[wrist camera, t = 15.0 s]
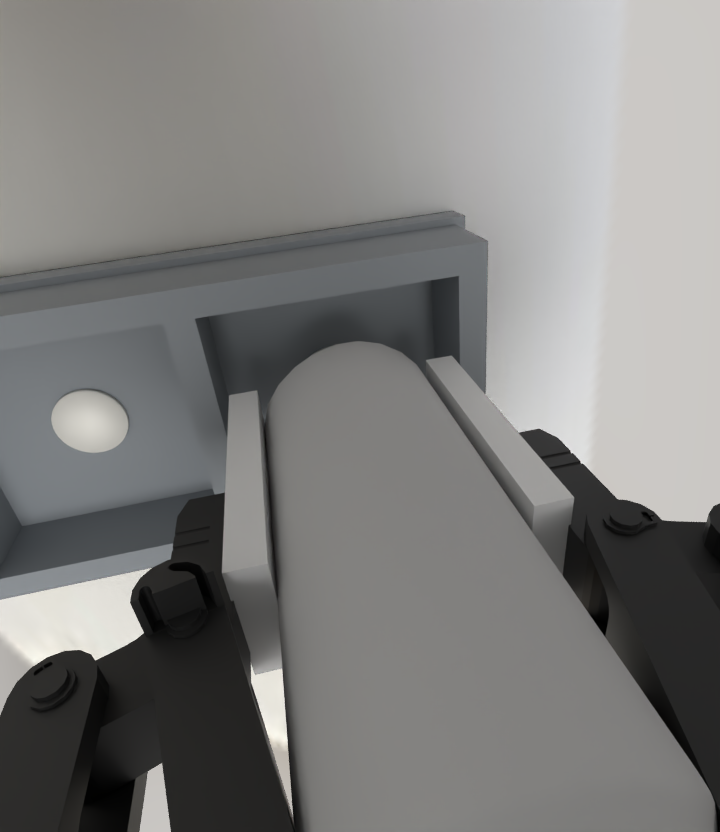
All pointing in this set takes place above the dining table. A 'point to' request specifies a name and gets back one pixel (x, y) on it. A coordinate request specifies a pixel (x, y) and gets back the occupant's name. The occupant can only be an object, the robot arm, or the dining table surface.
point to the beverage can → (441, 632)
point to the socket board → (193, 373)
